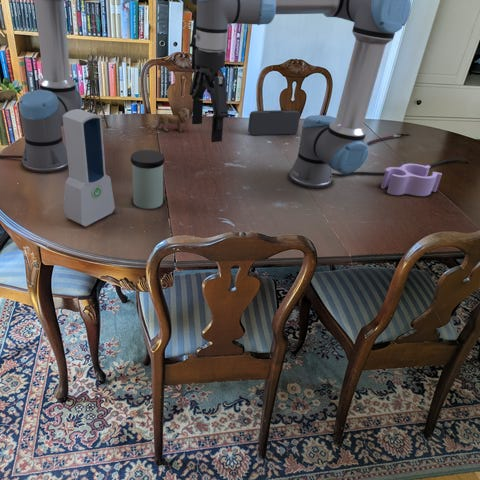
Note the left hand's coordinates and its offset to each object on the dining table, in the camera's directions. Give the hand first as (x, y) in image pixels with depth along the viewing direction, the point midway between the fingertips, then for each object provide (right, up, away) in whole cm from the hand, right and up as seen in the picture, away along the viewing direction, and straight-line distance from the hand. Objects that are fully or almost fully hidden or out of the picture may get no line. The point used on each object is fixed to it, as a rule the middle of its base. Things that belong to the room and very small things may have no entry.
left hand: (200, 65), depth 149 cm
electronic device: (-30, -49, -15) cm, 60 cm away
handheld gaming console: (+27, -9, +56) cm, 63 cm away
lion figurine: (-16, -9, +49) cm, 53 cm away
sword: (+81, -10, +64) cm, 104 cm away
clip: (+73, -37, +21) cm, 85 cm away
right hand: (+3, -27, -23) cm, 35 cm away
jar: (-16, -44, -5) cm, 47 cm away
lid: (-14, -32, -13) cm, 37 cm away
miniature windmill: (-47, -11, +42) cm, 64 cm away
